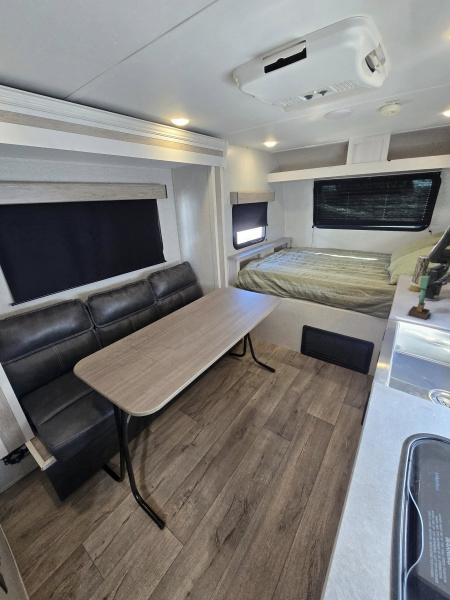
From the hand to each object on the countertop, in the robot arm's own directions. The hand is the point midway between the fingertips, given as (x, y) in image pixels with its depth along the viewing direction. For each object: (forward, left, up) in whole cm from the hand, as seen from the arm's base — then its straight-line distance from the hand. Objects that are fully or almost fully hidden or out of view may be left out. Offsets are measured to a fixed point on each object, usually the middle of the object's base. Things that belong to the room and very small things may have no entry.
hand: (428, 287), depth 133 cm
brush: (0, -1, -12) cm, 12 cm away
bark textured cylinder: (-45, -12, -17) cm, 50 cm away
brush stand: (0, -1, -17) cm, 17 cm away
